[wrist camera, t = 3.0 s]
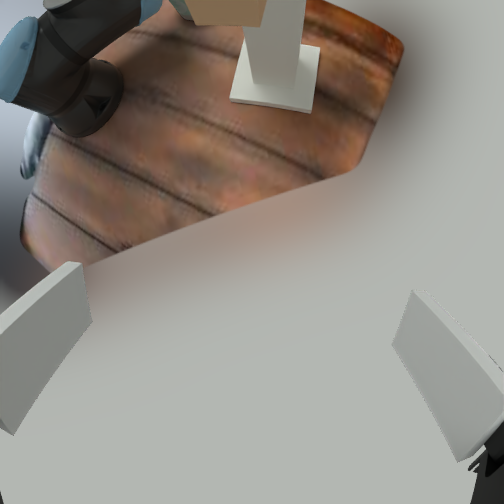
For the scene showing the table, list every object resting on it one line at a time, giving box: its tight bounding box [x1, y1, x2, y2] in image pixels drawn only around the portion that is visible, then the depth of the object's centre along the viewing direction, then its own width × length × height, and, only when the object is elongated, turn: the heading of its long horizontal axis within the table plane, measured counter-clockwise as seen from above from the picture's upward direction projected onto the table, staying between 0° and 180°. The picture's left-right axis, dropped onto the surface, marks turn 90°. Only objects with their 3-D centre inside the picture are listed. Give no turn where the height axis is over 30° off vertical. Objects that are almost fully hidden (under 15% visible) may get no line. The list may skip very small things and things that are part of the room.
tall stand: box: [229, 0, 320, 114], centre depth 23 cm, size 12×12×30 cm
